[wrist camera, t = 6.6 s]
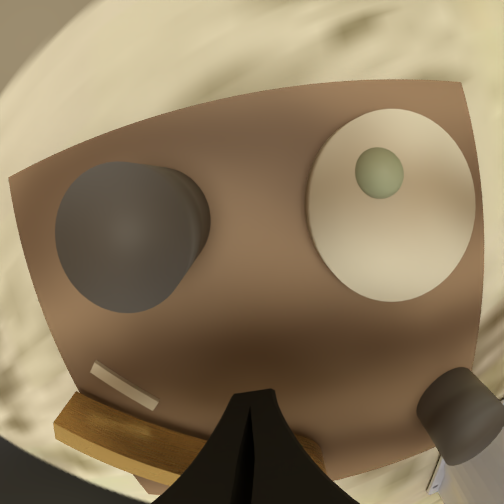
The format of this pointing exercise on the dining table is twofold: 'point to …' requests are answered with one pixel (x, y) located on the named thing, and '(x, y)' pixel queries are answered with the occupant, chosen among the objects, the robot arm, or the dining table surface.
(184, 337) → the levelling base
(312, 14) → the dining table surface
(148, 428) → the brass lever handle
